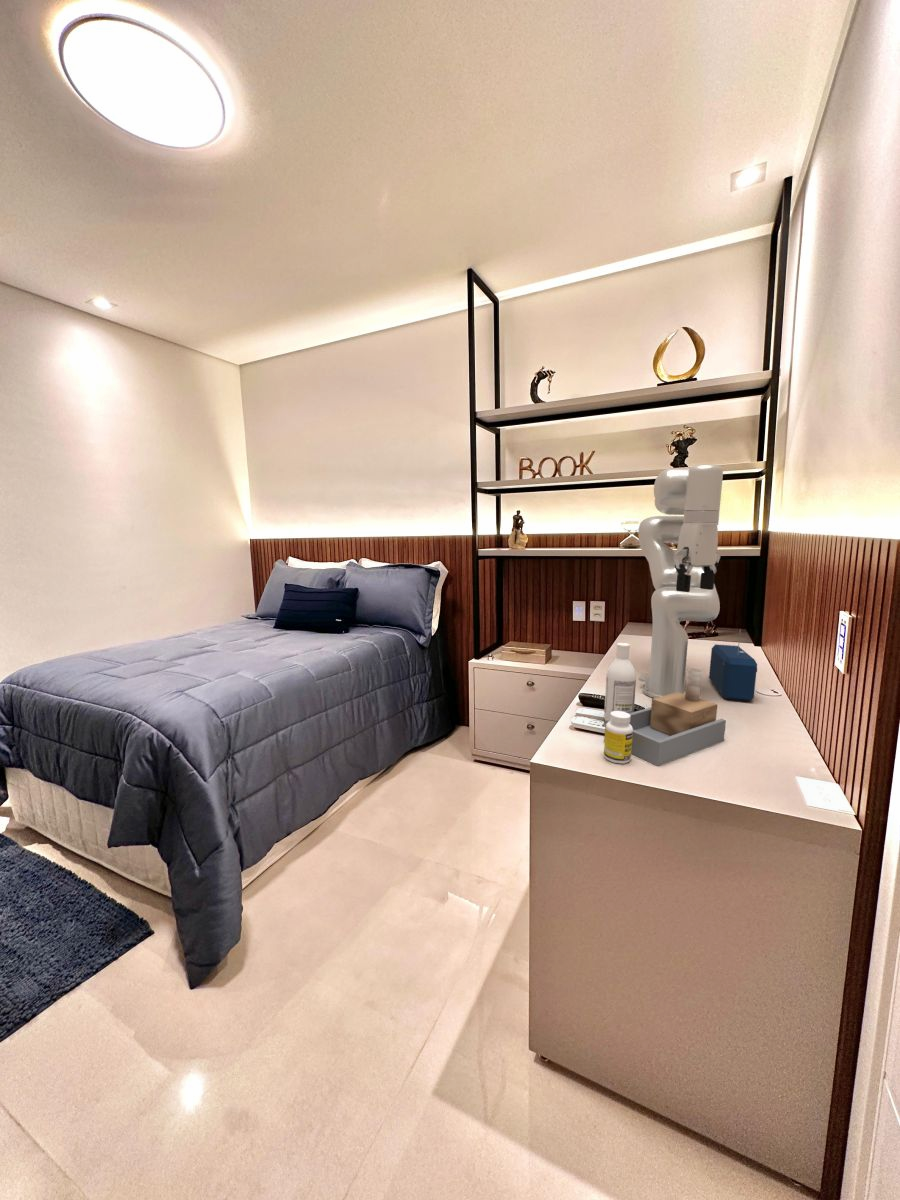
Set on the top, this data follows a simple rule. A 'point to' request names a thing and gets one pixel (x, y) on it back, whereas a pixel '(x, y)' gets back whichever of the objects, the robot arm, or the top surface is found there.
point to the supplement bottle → (618, 738)
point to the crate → (682, 708)
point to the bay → (670, 739)
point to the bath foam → (620, 683)
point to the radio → (733, 672)
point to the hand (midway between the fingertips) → (694, 590)
